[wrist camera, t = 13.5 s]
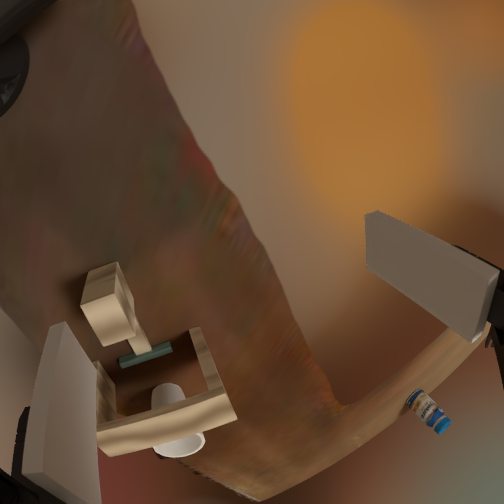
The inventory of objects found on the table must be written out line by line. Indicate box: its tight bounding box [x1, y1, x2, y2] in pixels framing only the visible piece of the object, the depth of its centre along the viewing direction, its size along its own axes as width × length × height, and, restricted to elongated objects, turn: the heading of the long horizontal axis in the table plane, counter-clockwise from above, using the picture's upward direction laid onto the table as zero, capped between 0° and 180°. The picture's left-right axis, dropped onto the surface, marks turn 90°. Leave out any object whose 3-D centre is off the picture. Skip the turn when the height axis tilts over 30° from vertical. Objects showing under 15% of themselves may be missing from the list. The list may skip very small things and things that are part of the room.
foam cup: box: [151, 383, 205, 457], centre depth 52 cm, size 10×9×13 cm
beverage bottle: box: [407, 389, 451, 434], centre depth 92 cm, size 8×8×20 cm
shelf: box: [92, 326, 237, 457], centre depth 46 cm, size 7×22×16 cm, turn 102°
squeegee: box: [80, 261, 173, 369], centre depth 44 cm, size 18×10×10 cm, turn 12°
